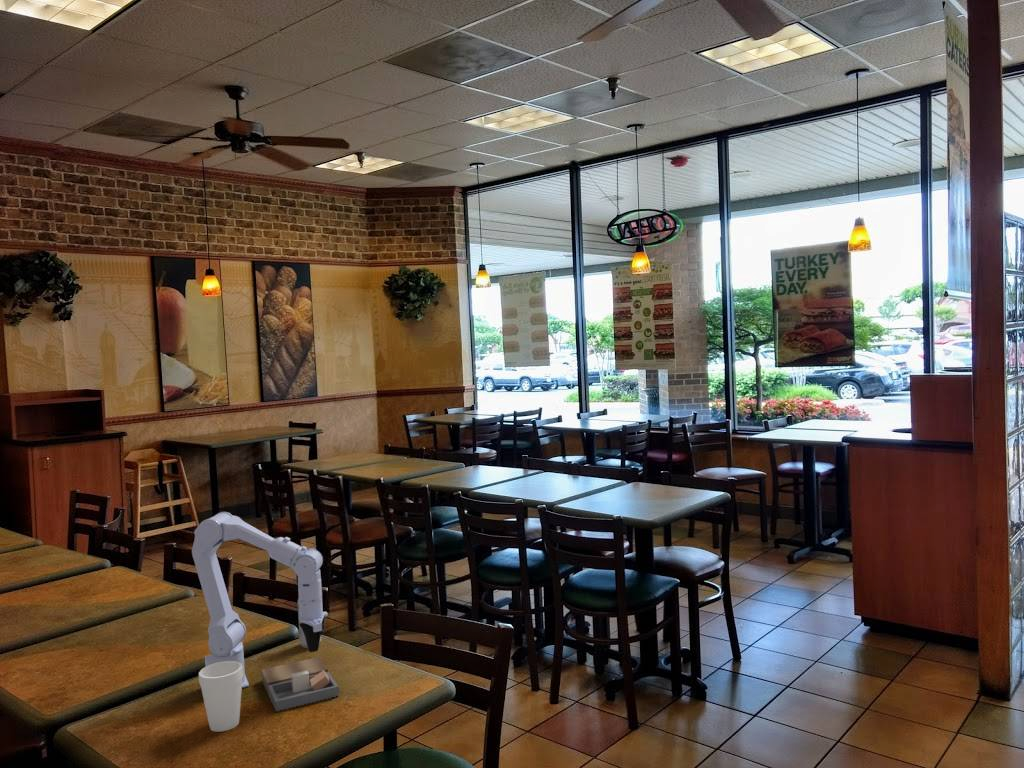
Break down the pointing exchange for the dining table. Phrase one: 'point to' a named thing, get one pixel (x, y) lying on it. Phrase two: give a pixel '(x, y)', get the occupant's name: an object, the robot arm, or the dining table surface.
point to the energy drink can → (302, 637)
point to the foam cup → (222, 694)
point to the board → (291, 671)
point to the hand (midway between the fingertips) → (313, 650)
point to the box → (300, 694)
